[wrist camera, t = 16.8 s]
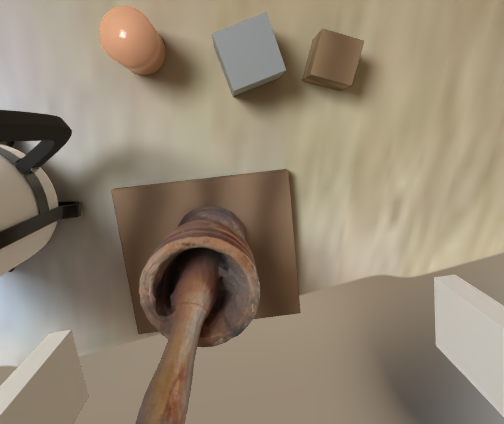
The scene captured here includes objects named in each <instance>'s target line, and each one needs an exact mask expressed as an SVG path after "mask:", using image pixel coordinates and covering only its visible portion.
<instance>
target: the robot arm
mask: <svg viewBox="0 0 504 424" xmlns="http://www.w3.org/2000/svg"><path fill="white" fill-rule="evenodd" d="M434 292H435V328H436V346H437V347H438V348H439V349H440V350H441V351H442V352H443V353H444V354H445V356H446V357H447V358H448V359H449V360H450V361H451V362H452V363H453V364H454V365H455V366H456V367H457V368H458V369H459V370H460V371H461V372H462V373H463V375H464V376H465V377H466V378H467V379H468V380H469V381H470V382H471V383H472V384H473V385H474V386H475V387H476V388H477V389H478V390H479V392H480V393H481V394H482V395H483V396H484V397H485V398H486V399H487V400H488V401H489V402H490V403H491V404H492V405H493V406H494V407H495V408H496V409H497V411H499V413H500V414H501V415H502V416H503V417H504V306H503V305H501V304H500V303H498V302H497V301H495V300H494V299H492V298H491V297H489V296H487V295H486V294H484V293H483V292H481V291H480V290H478V289H476V288H475V287H473V286H472V285H470V284H468V283H467V282H466V281H464V280H462V279H461V278H460V277H458V276H456V275H448V276H442V277H434ZM88 397H89V396H88V392H87V388H86V384H85V380H84V377H83V373H82V369H81V365H80V361H79V358H78V354H77V350H76V346H75V342H74V339H73V335H72V331H71V330H66V331H59V332H52V333H49V334H48V335H47V336H46V337H45V338H44V339H43V341H42V342H41V343H40V344H39V345H38V346H37V347H36V348H35V349H34V350H33V351H32V352H31V354H30V355H29V356H28V357H27V358H26V359H25V360H24V361H23V362H22V363H21V364H20V365H19V367H18V368H17V369H16V370H15V371H14V372H13V373H12V374H11V375H10V376H9V378H8V379H7V380H6V381H5V382H4V383H3V384H2V385H1V386H0V424H74V422H75V420H76V419H77V417H78V415H79V413H80V411H81V410H82V408H83V406H84V404H85V402H86V401H87V399H88Z"/></svg>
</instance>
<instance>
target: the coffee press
mask: <svg viewBox="0 0 504 424" xmlns="http://www.w3.org/2000/svg"><path fill="white" fill-rule="evenodd" d="M71 134H72V130H71V129H70V127H69V126H68V125H67V124H66V123H65V122H64V121H63V119H62V118H60V117H57V116H53V115H47V114H39V113H30V112H20V111H7V110H0V276H1V275H3V274H5V273H6V272H12V271H13V270H14V268H15V267H16V266H17V265H19V264H20V263H22V262H24V261H25V260H27V259H28V258H30V257H31V256H33V255H34V254H36V253H37V252H38V251H39V250H41V249H42V248H43V247H44V246H45V244H46V243H47V242H48V241H49V239H50V238H51V236H52V234H53V232H54V230H55V227H56V224H57V221H58V220H60V219H65V218H72V217H79V216H81V202H75V201H67V202H58V200H57V195H56V192H55V189H54V187H53V185H52V183H51V181H50V179H49V177H48V176H47V175H46V173H45V172H44V171H43V170H42V168H41V167H40V166H41V165H43V164H44V163H45V162H46V161H47V160H49V159H50V158H51V157H52V156H53V155H54V154H55V153H56V152H58V151H59V150H60V149H61V148H62V147H63V146H64V145H65V144H66V142H67V141H68V140H69V138H70V136H71ZM39 140H42V141H41V142H40V143H39V144H38V145H37V146H36V147H35V148H34V149H32V150H31V151H30V152H29V153H28V154H27V155H25V154H24V153H22V152H20V151H18V150H16V149H14V148H12V146H13V144H14V142H15V141H39Z"/></svg>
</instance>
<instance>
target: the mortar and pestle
mask: <svg viewBox="0 0 504 424" xmlns="http://www.w3.org/2000/svg"><path fill="white" fill-rule="evenodd" d="M139 294H140V304H141V306H142V308H143V310H144V312H145V314H146V317H147V318H148V320H149V321H150V323H151V324H152V325H153V326H154V327H156V328H157V329H158V331H159V332H160V333H161V334H162V335H163V336H165V337H166V338H168V339H169V340H168V343H167V345H166V348H165V350H164V353H163V356H162V358H161V361H160V363H159V365H158V368H157V370H156V372H155V374H154V376H153V378H152V380H151V382H150V384H149V387H148V389H147V391H146V393H145V396H144V399H143V402H142V405H141V408H140V410H139V413H138V417H137V421H136V424H184V423H185V419H186V414H187V409H188V402H189V397H190V391H191V384H192V376H193V366H194V360H195V354H196V349H197V347H211V346H216V345H219V344H222V343H225V342H227V341H228V340H230V339H231V338H233V337H235V336H238V335H239V334H240V333H241V332H242V331H243V330H244V329H245V328H246V327H247V326H248V325H249V323H250V322H251V321H252V320H253V318H254V316H255V314H256V312H257V309H258V305H259V301H260V283H259V277H258V274H257V269H256V265H255V261H254V257H253V254H252V252H251V250H250V248H249V246H248V244H247V242H246V239H245V233H244V228H243V225H242V224H241V222H240V221H239V219H238V218H237V217H236V216H235V215H234V214H233V213H232V212H231V211H230V210H226V209H224V208H221V207H214V206H208V207H200V208H197V209H195V210H192V211H191V212H189V213H187V214H186V215H185V216H184V217H183V219H182V220H181V222H180V223H179V225H178V227H177V228H176V229H174V230H173V231H172V232H171V233H169V234H168V235H167V236H166V237H165V238H164V240H163V241H162V242H161V243H160V245H159V246H158V247H157V249H156V250H155V251H154V252H153V254H152V255H151V257H150V258H149V259H148V261H147V262H146V264H145V267H144V269H143V271H142V273H141V276H140V287H139Z"/></svg>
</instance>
